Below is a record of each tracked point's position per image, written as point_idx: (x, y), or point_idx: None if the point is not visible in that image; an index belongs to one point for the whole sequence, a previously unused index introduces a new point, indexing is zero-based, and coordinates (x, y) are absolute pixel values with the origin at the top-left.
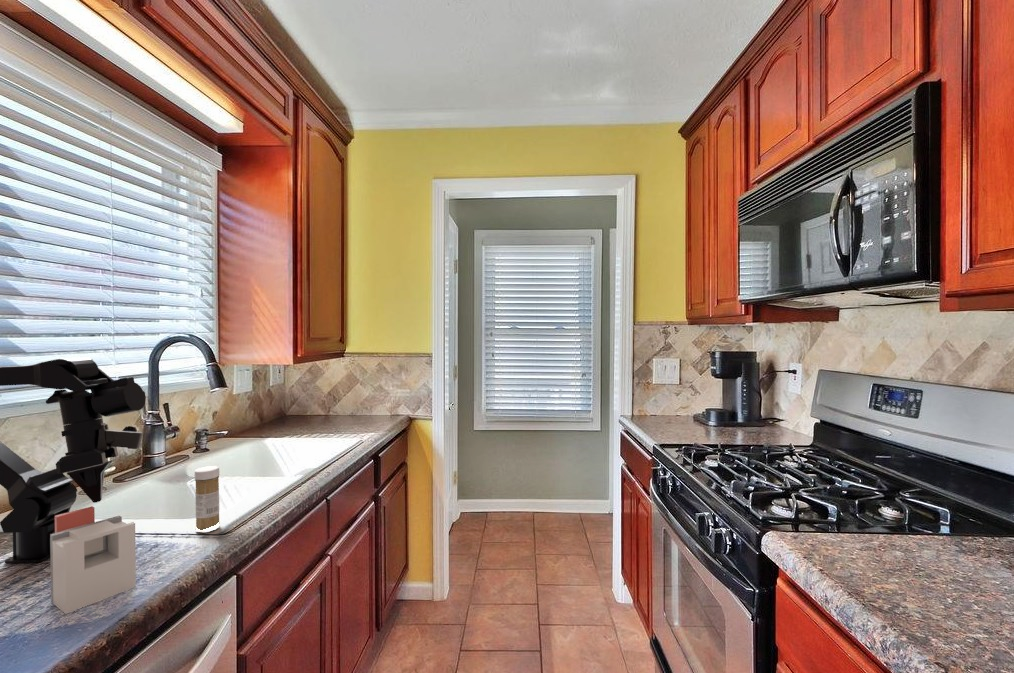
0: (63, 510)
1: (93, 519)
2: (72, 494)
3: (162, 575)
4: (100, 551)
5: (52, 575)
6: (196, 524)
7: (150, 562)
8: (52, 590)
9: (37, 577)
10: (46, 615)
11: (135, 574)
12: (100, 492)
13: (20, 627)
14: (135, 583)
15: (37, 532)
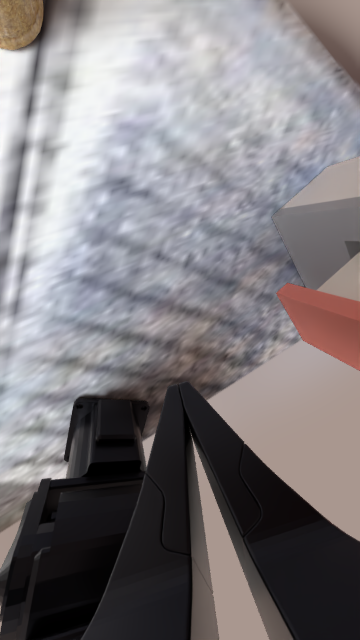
0: (47, 499)
1: (352, 302)
2: (76, 535)
3: (305, 117)
4: (354, 241)
5: None
6: (12, 18)
7: (226, 168)
8: None
9: (210, 366)
10: None
11: (351, 159)
12: (209, 406)
13: None
14: (333, 165)
15: (143, 461)
